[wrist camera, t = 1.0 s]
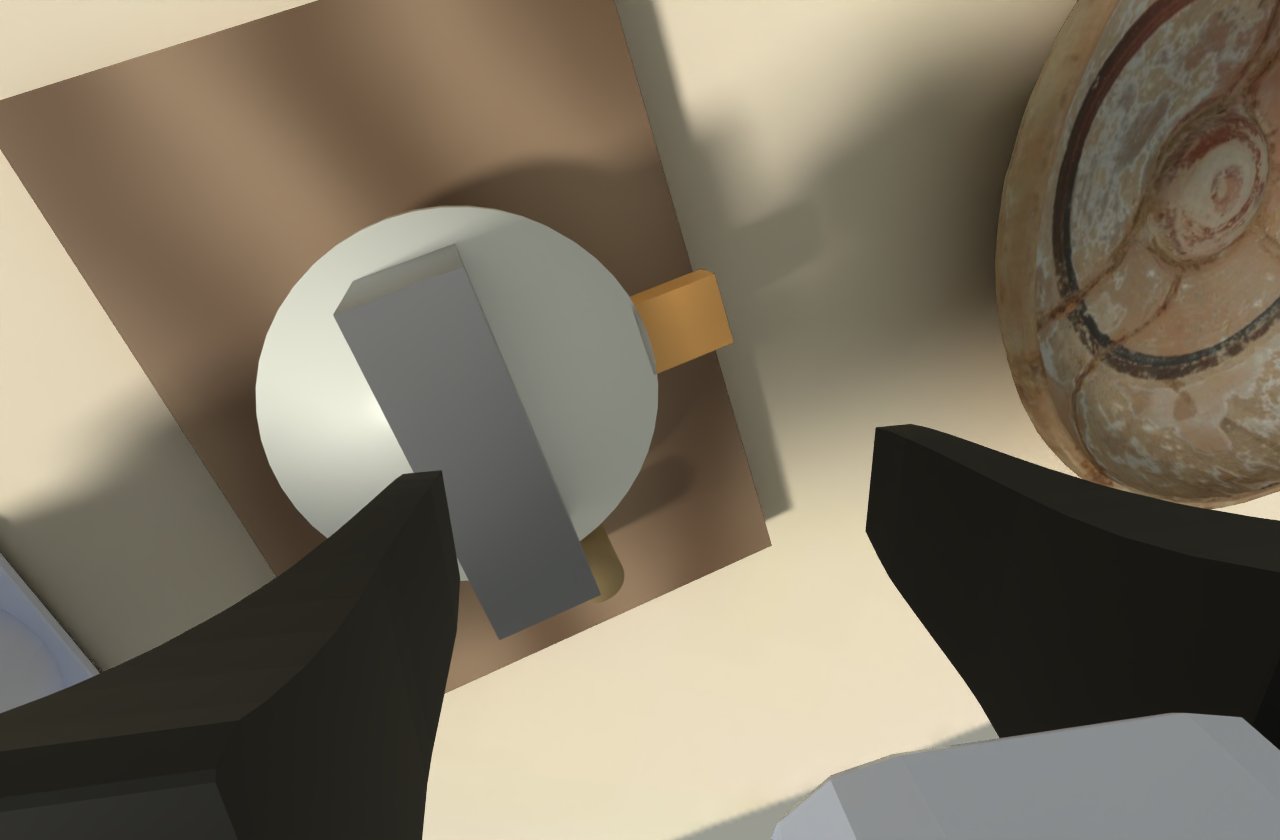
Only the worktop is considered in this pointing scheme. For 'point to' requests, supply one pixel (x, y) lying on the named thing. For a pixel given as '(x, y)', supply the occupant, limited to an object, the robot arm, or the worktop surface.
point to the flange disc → (477, 390)
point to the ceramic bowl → (1151, 249)
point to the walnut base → (359, 196)
